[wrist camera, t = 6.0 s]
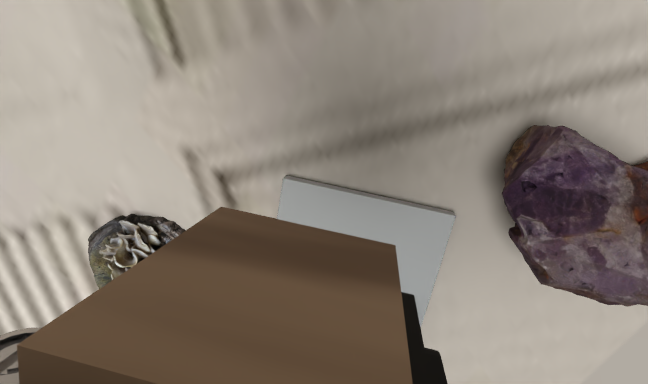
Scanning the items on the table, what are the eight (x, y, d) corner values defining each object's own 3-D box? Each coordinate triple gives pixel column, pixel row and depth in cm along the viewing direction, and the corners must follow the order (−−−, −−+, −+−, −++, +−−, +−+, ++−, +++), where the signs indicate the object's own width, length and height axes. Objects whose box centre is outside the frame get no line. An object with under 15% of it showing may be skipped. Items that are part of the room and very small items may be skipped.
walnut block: (221, 206, 10) (17, 344, 4) (395, 244, 10) (420, 455, 4) (206, 351, 11) (35, 602, 6) (358, 391, 11) (338, 708, 5)
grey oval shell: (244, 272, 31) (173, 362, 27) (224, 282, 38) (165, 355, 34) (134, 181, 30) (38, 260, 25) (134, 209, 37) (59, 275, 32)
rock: (534, 101, 25) (457, 219, 28) (588, 89, 17) (471, 257, 20) (702, 182, 23) (602, 299, 26) (850, 211, 15) (682, 376, 18)
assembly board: (286, 175, 28) (283, 178, 27) (453, 211, 27) (455, 216, 26) (254, 376, 34) (250, 384, 33) (390, 412, 33) (390, 422, 32)
